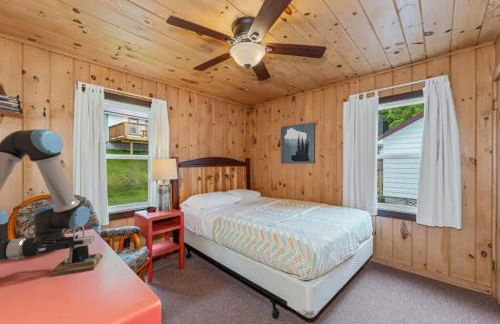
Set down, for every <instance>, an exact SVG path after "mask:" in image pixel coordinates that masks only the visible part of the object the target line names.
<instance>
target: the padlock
mask: <svg viewBox="0 0 500 324" xmlns="http://www.w3.org/2000/svg"><path fill="white" fill-rule="evenodd" d="M79 226H80V227H81V229H82V236H83V238H85V236H86V235H85V225H84V226H83V225H77V226H75V227H74V229H72V236H73V240H75V236H76V229H78V228H77V227H79ZM89 249H90V248H89V244H87V245H79V246H74V248H72V249H71V247H70V248H69V252H68V254H69V255H68V258H69V262H70V263H74V262H78V261H82V260H85V259H88V258H90V257H89V255H90V250H89Z"/></svg>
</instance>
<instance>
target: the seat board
mask: <svg viewBox="0 0 500 324" xmlns="http://www.w3.org/2000/svg"><path fill="white" fill-rule="evenodd" d="M89 257H90V258H88V259H85V260H82V261H78V262H74V263H70V262H69V257H65V258H63V260H62V261H61V262H60V263H58V265H56V266H55V270H54V271H52V272H51V278H52V277H53V278H54V277H57V276H62V275H63V276H64V275H65V276H66V275H71V274H76V273H82V272H87V271H88V272H89V271H93V270H95V268H96V267H97V265H98V264H99V263H100V261H101V260H102V258H103V253H102V254H101V253H100V252H99V253H93V254H89Z"/></svg>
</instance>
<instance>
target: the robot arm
mask: <svg viewBox="0 0 500 324" xmlns="http://www.w3.org/2000/svg"><path fill="white" fill-rule="evenodd" d="M63 146H64V142H63V139H62V137H61V136H60V135H59V134H58V132H55V131H54V130H52V129H46V128H45V129H42V128H37V129H26V130H25V129H23V130H17V131H14V132H10V133H9V134H8V135H6V136H5V137H4V138H3V139H2V140H0V192H1V191H2V189H3V187H4V185H5V184H6V182H7V181H8V178H9V177H10V175H11V173H12V172H13V170H14V167H15V166H16V164H17V163H20V162H22V159H23V158H24V157H25V156H28V159H29V161H30V162H32V163H35V164H36V166H37V168H38V170H39V173H40V175H41V176H42V177H41V178H42V179H43V182H44V183H45V186H46V188H47V190H48V192H49V194H50V197H51V199H52V201H53V204H52V205H46V206H42V207H40V206H39V207H37V208H35V209H34V212H33V213H34V214H33V219H34V221H33V222H34V228H33V229H34V236H31V237H23V238H15V239H9V235H8V229H9V218H8V212H7V210H4V209H3V210H1V209H0V262H1V261H7V260H8V261H9V260H13V259H15V261H18V260H19V259H21V258H31V257H32V258H33V257H37V256H38V255H39V254H43V253H47V252H53V251H60V250H66V249H70V247H71V249H72V248H74V246H79V245H92V244H94V242H96V234H92V235H85V238H83V235H82V236H79V235H78V234H75V240H73V235H70V236H66V235H65V233H64V230H68V229H69V230H73V229H74V227H75V226H77V225H83V226H84V227H85V225H86V224H87V223H88V222H89V219H90V216H91V212H90V209H89V207H87V206H83V205H82V203H81V200H79V199H76V197H75V195H74V193H73V189H72V188H71V185H70V183H69V180H68V178H67V175H66V172H65V171H64V168H63V165H62V163H61V161H60V160H61V159H60V157H61V155H62V153H61V151H62V150H63ZM80 228H81V229H82V227H80V226H79V227H77V228H76V229H80Z"/></svg>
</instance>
